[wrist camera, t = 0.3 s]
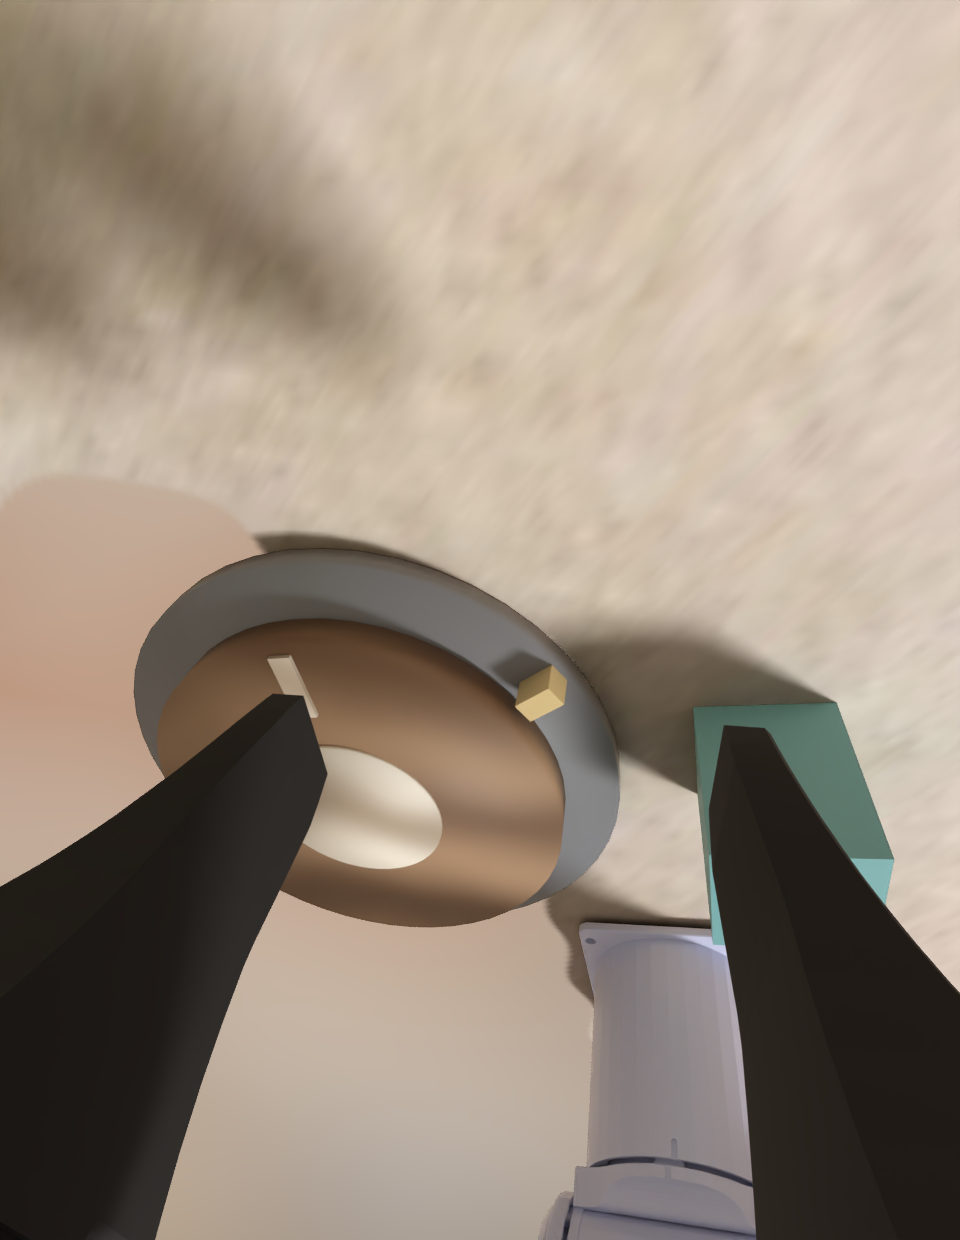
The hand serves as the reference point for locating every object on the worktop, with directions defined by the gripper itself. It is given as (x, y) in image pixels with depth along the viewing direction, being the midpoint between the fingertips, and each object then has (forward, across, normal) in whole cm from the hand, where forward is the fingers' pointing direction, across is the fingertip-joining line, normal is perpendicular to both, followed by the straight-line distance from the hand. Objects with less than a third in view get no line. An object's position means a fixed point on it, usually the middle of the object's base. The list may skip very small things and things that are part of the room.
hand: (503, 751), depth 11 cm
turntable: (+9, +8, +12) cm, 16 cm away
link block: (+10, -7, +10) cm, 16 cm away
